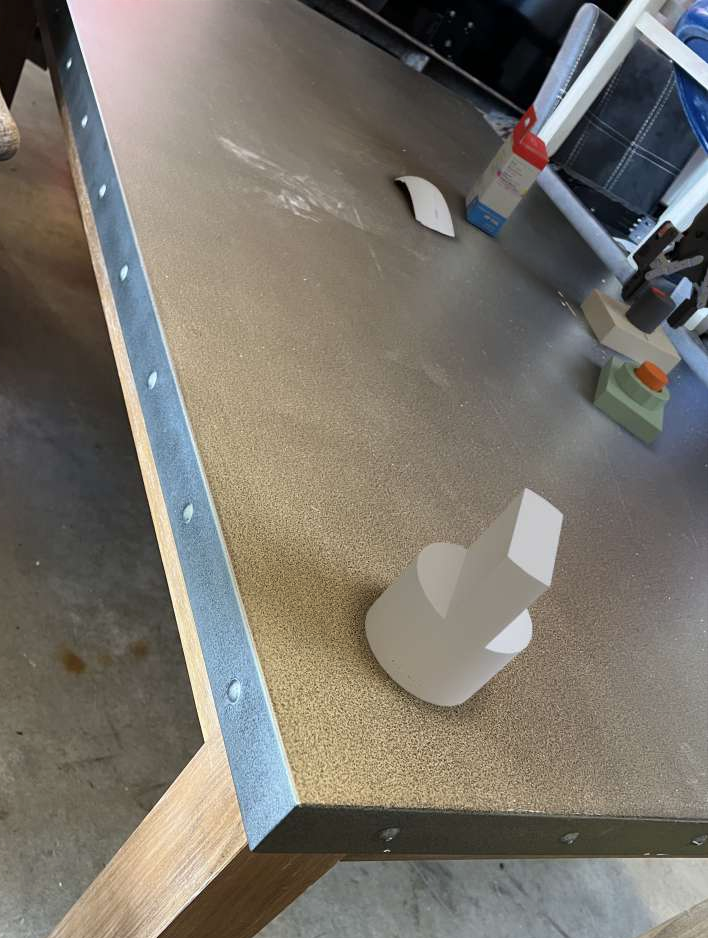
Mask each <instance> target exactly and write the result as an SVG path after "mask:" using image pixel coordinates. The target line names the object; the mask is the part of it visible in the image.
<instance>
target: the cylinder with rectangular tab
mask: <svg viewBox="0 0 708 938" xmlns="http://www.w3.org/2000/svg"><path fill="white" fill-rule="evenodd" d="M563 519H564V514H563V513H562V512H561V511H560V510H559V509H557V508H556V507H555V506H554V505H553V504H551V503H550V502H549V501H547V499H545V498H543V497H542V496H541V495H539V494H538V493H535V492H534V491H532V490H531V489H529V488H527V487H525V488H524V489H522V491H521V492H520V493H519V494H518V495H517V496H516V497H515V498H514V499H513V500H512V501H511V502H510V503H509V505H507V506H506V507H505V509H504V510H503V511H502V512H501V513H500V514H499V515H498V516H497V517H496V518H495V519H494V521H492V522H491V523H490V525H488V526H487V528H486V529H485V530H484V531H483V532H482V533H481V534H480V535H479V536H478V537H477V539H476V540H474V542H473V543H472V544H471V545H470V546H469V547H468V548H465V547H463V546H462V545H459V544H455V543H450V542H446V541H442V542H432V543H430V544H428V545H426V546H424V547H423V548H422V549H421V550H420V551H419V553H417V554H416V556H415V557H414V558H413V559H412V560H411V561H410V563H408V565H406V567H404V569H403V570H402V572H400V574H399V575H397V577H396V578H395V579H394V580H393V581H392V582H391V584H390V585H389V586H388V587H387V588H386V589H385V590H384V591H383V592H382V593H381V595H380V596H379V597H378V598H377V599H376V600H375V602H374V603H373V604H372V605H371V606H370V608H369V609H368V611H367V612H366V615H365V620H364V629H365V637H366V640H367V642H368V645H369V648H370V650H371V652H372V654H373V656H374V658H375V659H376V660H377V662H378V664H379V665H380V667H381V668H382V669H383V670H384V671H385V673H386V674H387V675H388V676H389V677H390V678H391V680H393V681H394V682H395V683H396V684H397V685H399V686H400V687H401V688H402V689H403V690H405V691H406V692H407V693H409V694H410V695H412V696H414V697H416V698H418V699H419V700H421V701H422V702H423V701H424V702H426V703H429V704H432V705H435V706H440V707H454V706H457V705H458V706H459V705H462V704H463V703H465V702H466V701H468V700H469V699H470V698H471V697H472V696H474V694H475V693H477V692H478V691H479V690H480V689H481V688H482V687H484V686H485V685H486V684H487V683H488V682H489V681H490V680H491V679H492V678H493V677H494V676H496V675H497V674H498V673H499V672H500V671H502V669H503V668H505V667H506V666H507V665H508V664H509V663H510V662H511V661H513V660H514V659H515V658H516V657H517V656H518V655H519V654H520V653H522V652H523V651H524V650H525V649H526V648H527V647H528V646H529V644H530V642H531V640H532V637H533V623H532V619H531V616H530V612H529V610H528V609H529V607H530V606H531V605H532V604H534V602H535V601H536V600H538V598H540V597H541V596H542V595H543V594H544V593H545V592H546V591H547V590H548V589H550V587H551V585H552V579H553V573H554V568H555V563H556V558H557V552H558V548H559V541H560V537H561V536H560V535H561V530H562V525H563ZM387 654H388V655H387ZM389 657H390V658H391V659H393V661H394V662H393V661H392V660H391V659H390V658H389ZM396 664H397V666H398V667H399V668H400V669H401V670H402V671H403V672H404V673H403V672H402V671H401V670H400V669H399V668H398V667H397V666H396ZM408 676H409V677H410V678H411V679H410V678H409V677H408ZM413 680H414V681H413ZM417 683H418V684H417ZM420 685H421V686H420ZM438 694H439V695H438Z"/></svg>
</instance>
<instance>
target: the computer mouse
mask: <svg viewBox="0 0 708 938" xmlns="http://www.w3.org/2000/svg"><path fill="white" fill-rule="evenodd" d="M394 181H401V183H405V185H406V187H407V189H408V191H409V193H410V198H411V200H412V205H413V211H414V215H415V220H416V221H417V222H419V223H420V224H421V225H423V226H425V227H427V228H429V229H430V230H434V231H436V232H438V233H441V234H442V235H443V234H444V235H446V236H449V237H452V238H456V237H455V230H454V226H453V225H454V224H453V221H452V216H451V212H450V209H449V207H448V204H447V202H446V200H445V198H444V196H443V194H442V193H441V191H440V190H439V189H438V187H437V186H435V184H433V183H431V182H430V181H428V180H426V179H425V178H422V177H419V176H414V175H405V176H400V177H397V178H395V180H394Z"/></svg>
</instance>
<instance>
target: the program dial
mask: <svg viewBox="0 0 708 938" xmlns="http://www.w3.org/2000/svg"><path fill="white" fill-rule="evenodd" d="M676 308H677V303H676V302H675V301H674V299H673V298H672V297H671V296H670V295H669V294H667V292H666V291H664V290H662V289H661V288H660V287H658V286H656V285H653V284H650V285H649V286H648V287H646V289H645V291H643V293H642V294H641V295H640V296H639V297H638V299H636V301H634V303H633V304H632V305H630V309H629V310H628V311H627V312H626V316H627V318H628V319H629V321H630V322H631V323H632V324H633V325H634V326H636V327H637V328H638V329H640V330H641V331H643V332H645V333H647V334H651V333H652V332H653V331H654V330H655V329H656V328H657V327H658V326H659V325H660V326H661V324H662V323H663V322H664V321H665V320H666V319H667V318H668V317H669V316H670V315H671V314H672V313H673V311H674V310H675V309H676Z"/></svg>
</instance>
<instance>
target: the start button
mask: <svg viewBox="0 0 708 938" xmlns="http://www.w3.org/2000/svg"><path fill="white" fill-rule="evenodd" d="M640 365H641V366H640V367H639V368H638V369H637V370H636V371H635V372H634V373H635V374H636V376H637V378H638V379H639V380H640V381H641V382H642V383H643V384H645V385H646V386H647V387H649V388H650V389H651V390H653V391H655V392H657V393H658V392H659V391H660V390H661V389H662V388H663V387H664V385H665V386H666V385H667V383H669V377H668V375H666V374H665V373H664V372H663V371H662V370H661V369H660V368H659V367H657V366H656V365H655V364H653V363H651V362H649V361H644V362H643V363H642V364H640Z"/></svg>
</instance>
